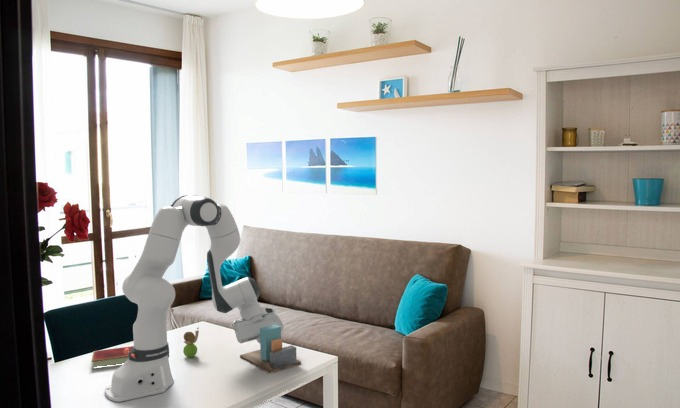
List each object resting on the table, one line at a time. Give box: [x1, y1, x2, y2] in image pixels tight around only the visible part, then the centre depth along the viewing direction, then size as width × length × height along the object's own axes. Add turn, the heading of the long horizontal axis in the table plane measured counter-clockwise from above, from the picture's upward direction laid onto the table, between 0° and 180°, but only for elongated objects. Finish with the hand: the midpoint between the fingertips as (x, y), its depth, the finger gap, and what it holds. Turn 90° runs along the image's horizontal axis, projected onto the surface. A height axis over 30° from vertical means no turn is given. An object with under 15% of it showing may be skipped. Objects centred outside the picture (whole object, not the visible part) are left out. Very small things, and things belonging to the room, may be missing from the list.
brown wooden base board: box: [239, 349, 302, 374], centre depth 208 cm, size 14×22×1 cm, turn 40°
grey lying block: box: [270, 345, 298, 370], centre depth 200 cm, size 10×3×6 cm, turn 130°
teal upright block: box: [259, 325, 282, 361], centre depth 206 cm, size 7×6×12 cm
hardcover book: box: [91, 345, 134, 368], centre depth 211 cm, size 12×21×4 cm, turn 111°
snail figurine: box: [182, 326, 200, 358], centre depth 213 cm, size 5×6×12 cm
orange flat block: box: [271, 338, 283, 351], centre depth 205 cm, size 9×2×8 cm, turn 130°
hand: (267, 346), depth 209 cm, fingers closed, pressing on teal upright block
